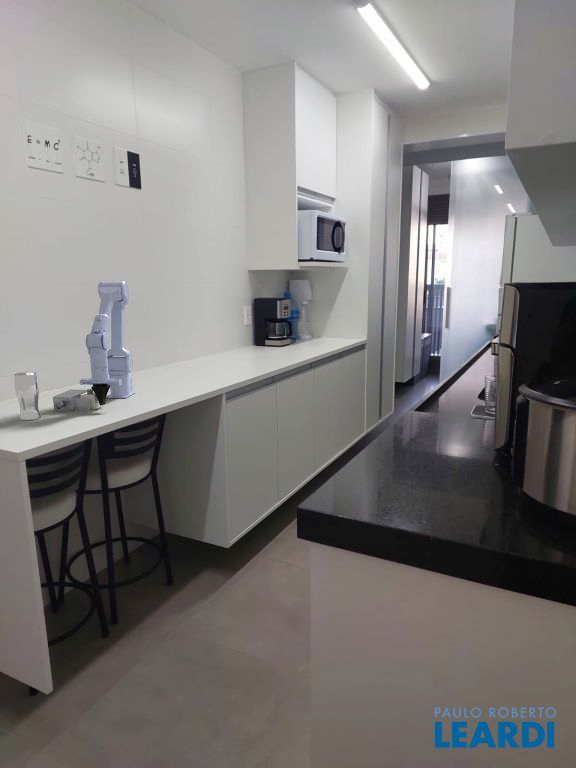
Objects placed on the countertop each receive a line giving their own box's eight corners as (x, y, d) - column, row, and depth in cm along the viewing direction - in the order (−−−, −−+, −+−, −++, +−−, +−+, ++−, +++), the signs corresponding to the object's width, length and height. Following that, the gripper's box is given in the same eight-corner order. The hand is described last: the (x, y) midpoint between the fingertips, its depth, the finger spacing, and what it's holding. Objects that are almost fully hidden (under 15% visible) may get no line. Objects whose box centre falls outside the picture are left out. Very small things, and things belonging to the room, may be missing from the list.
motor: (71, 402, 188) (70, 389, 187) (102, 403, 187) (101, 390, 186) (49, 412, 173) (47, 398, 172) (82, 413, 172) (81, 399, 171)
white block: (88, 405, 184) (86, 387, 182) (101, 405, 183) (99, 388, 182) (81, 408, 179) (79, 390, 177) (94, 409, 178) (93, 391, 177)
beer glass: (28, 422, 162) (23, 376, 159) (13, 419, 165) (8, 374, 162) (46, 416, 168) (42, 372, 165) (32, 414, 171) (27, 371, 168)
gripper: (74, 368, 174) (77, 406, 177) (114, 369, 173) (117, 407, 176) (84, 365, 181) (87, 402, 184) (123, 365, 180) (125, 403, 183)
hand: (102, 404), depth 180 cm, fingers closed
